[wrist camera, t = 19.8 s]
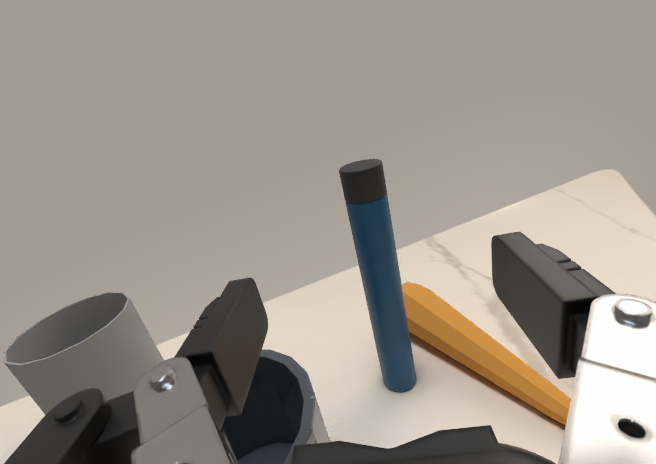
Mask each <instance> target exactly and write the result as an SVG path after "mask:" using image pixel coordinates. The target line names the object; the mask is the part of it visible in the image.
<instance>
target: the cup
mask: <svg viewBox="0 0 656 464" xmlns="http://www.w3.org/2000/svg"><path fill="white" fill-rule="evenodd" d="M163 361H164V360H163V358H162V356H161V354H160V353H159V351H158V349H157V347H156V345H155V344H154V342H153V340H152V338H151V336H150V334H149V333H148V331H147V329H146V327H145V325H144V323H143V322H142V320H141V318H140V316H139V314H138V312H137V311H136V309H135V307H134V305H133V303H132V301H131V300H130V298H129V297H128V296H127V295H126V294H125V293H124V292H107V293H103V294H99V295H95V296H91V297H88V298H85V299H83V300H80V301H78V302H76V303H73V304H71V305H68V306H66V307H63V308H62V309H60V310H58V311H56V312H54V313H53V314H51V315H49V316H47V317H45V318H44V319H42V320H40V321H38V322H37V323H36V324H34V325H33V326H32V327H30V328H29V329H28V330H26V331H25V332H23V333H22V334H21V335H19V336H18V337H17V338H16V339H15V340H14V341H13V343H12V344H11V345H10V346H9V347H8V348H7V349H6V351H5V352H4V363H5V365H6V366H7V367H8V368H9V369H10V371H11V372H12V373H13V375H14V376H15V377H16V378H17V380H18V381H19V382H20V383H21V385H22V386H23V387H24V388H25V390H26V391H27V392H28V393H29V395H30V396H31V397H32V398H33V400H34V401H35V402H36V403H37V405H38V406H39V407H40V408H41V410H42V411H43V412H44V413H45V415H46V414H47V413H48V412H49V411H50V410H52V409H53V408H54V407H55V406H56V405H57V404H59V403H60V402H62V401H63V400H65V399H66V398H68V397H69V396H71V395H73V394H75V393H77V392H80V391H82V390H85V389H90V388H96V389H99V390H100V391H101V392H102V393H103V395H104V396H105V398H106V399H107V401H108V400H111V399H113V398H116V397H119V396H121V395H124V394H126V393H129V392H132V391H134V389H135V386H136V384H137V383H138V381H139V380H140V378H141V377H142V376H143V375H144V374H145V373H146V372H147V371H149V370H150V369H151V368H153V367H154V366H156V365H157V364H159V363H161V362H163Z"/></svg>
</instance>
